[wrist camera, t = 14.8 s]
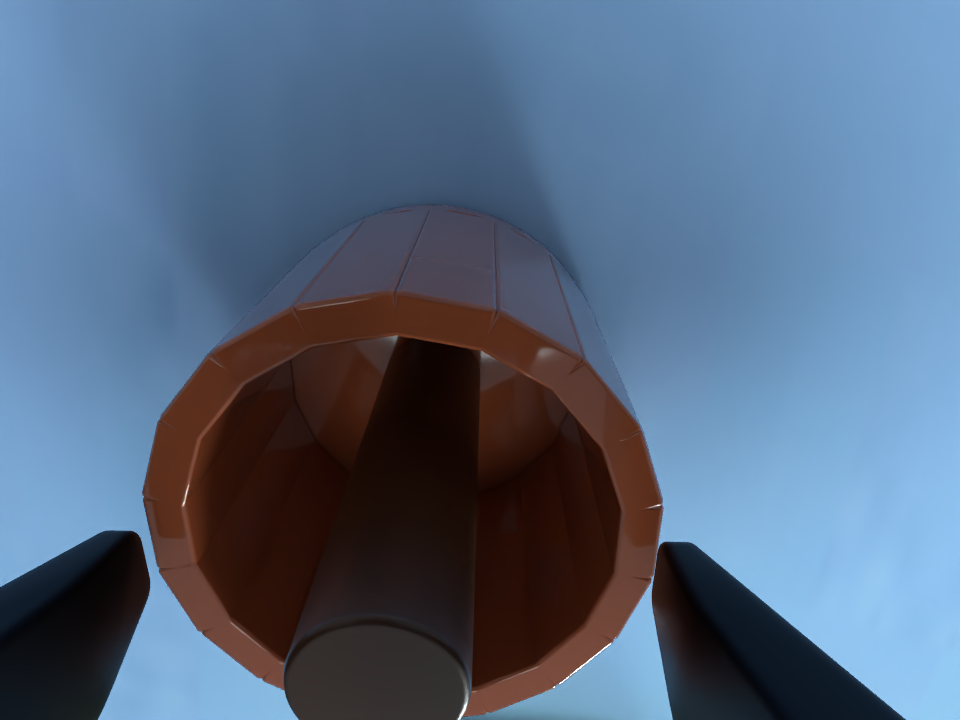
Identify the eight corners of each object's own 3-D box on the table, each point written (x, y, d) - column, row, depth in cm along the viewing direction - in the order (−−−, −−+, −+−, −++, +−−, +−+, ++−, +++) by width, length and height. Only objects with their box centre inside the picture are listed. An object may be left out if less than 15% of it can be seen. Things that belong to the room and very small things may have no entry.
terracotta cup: (288, 502, 16) (187, 719, 11) (253, 198, 14) (93, 285, 8) (584, 507, 16) (633, 728, 11) (611, 204, 14) (695, 296, 8)
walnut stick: (388, 416, 15) (290, 756, 7) (385, 331, 14) (271, 617, 7) (480, 418, 15) (470, 761, 7) (480, 333, 14) (471, 621, 7)
